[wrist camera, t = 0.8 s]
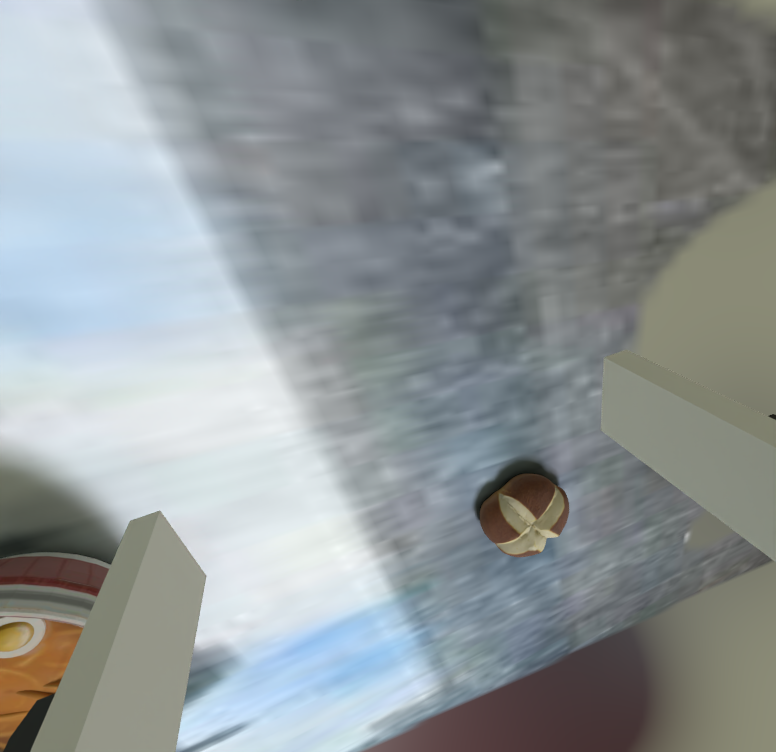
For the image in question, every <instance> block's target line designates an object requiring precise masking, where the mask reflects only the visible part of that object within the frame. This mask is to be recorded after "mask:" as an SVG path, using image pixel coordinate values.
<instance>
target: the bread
mask: <svg viewBox="0 0 776 752" xmlns="http://www.w3.org/2000/svg"><path fill="white" fill-rule="evenodd" d="M568 514H569V502H568V498H567V495H566V493H565V492H564V490H563V489H562V488H560V487H558V486H557V485H555V484H553V483H552V482H551V481H550V480H549V479H547V478H546V477H544V476H541V475H537V474H528V473H527V474H520V475H517V476H515V477H513V478H512V479H511V480H510V481H508V482H507V483H506V484H505V485H504V486H503V487H502V488H501V489H499V490H498V491H496V492H494V493H493V494H492V495H491V496H490V497H489V498H488V499H486V500H485V501H484V502H483V504H482V506H481V510H480V523H481V527H482V529H483V531H484V533H485V534H486V536H487V537H488V538H489V539H490V540H491V541H492V542H494V543H495V544H496V545H497V547H498V548H499V549H500V550H501V551H502V552H504V553H505V554H508V555H511V556H514V557H526V556H532V555H535V554H538V553H541V552H542V550H543V549H544V546H545V543H546V539H547V538H553V537H557V536H559V535H560V533H561V532H562V530H563V528H564V526H565V524H566V521H567V518H568Z"/></svg>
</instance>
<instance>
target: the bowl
mask: <svg viewBox="0 0 776 752" xmlns="http://www.w3.org/2000/svg"><path fill="white" fill-rule="evenodd" d="M110 566H111V565H110V564H108V563H105V562H103V561H100V560H98V559H94V558H90V557H86V556H82V555H78V554H69V553H60V552H35V553H28V554H20V555H13V556H9V557H5V558H1V559H0V752H3V751H4V749H5V746H6V744H7V742H8V740H9V738H10V737H11V735H12V734H13V733H14V731H15V730H16V728H17V727H18V726H19V724H20V723H21V722H22V720H23V719H24V718H25V716H26V715H27V713H28V712H29V711H30V709H31V708H32V707H33V705H34V704H35V702H36V701H37V700H39V699H42V698H44V697H47V696H49V695H52V694H55V693H56V691H57V689H58V686H59V684H60V682H61V679H62V677H63V675H64V672H65V670H66V668H67V665H68V663H69V661H70V658H71V656H72V654H73V652H74V649H75V647H76V645H77V642H78V640H79V638H80V635H81V633H82V631H83V628H84V626H85V624H86V621H87V619H88V617H89V615H90V612H91V610H92V608H93V605H94V603H95V601H96V598H97V596H98V594H99V591H100V589H101V587H102V584H103V582H104V580H105V578H106V575H107V573H108V571H109V568H110Z"/></svg>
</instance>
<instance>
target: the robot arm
mask: <svg viewBox="0 0 776 752" xmlns="http://www.w3.org/2000/svg"><path fill="white" fill-rule="evenodd" d="M601 431H603V432H604V433H605V434H607V435H608V436H609V437H611V438H612V439H613V440H615V441H616V442H617V443H619V444H620V445H621V446H623V447H624V448H625V449H626V450H628V451H629V452H630V453H632V454H633V455H634V456H636V457H637V458H638V459H640V460H641V461H642V462H644V463H645V464H646V465H648V466H649V467H650V468H652V469H653V470H654V471H656V472H657V473H658V474H660V475H661V476H662V477H664V478H665V479H666V480H668V481H669V482H670V483H672V484H673V485H674V486H676V487H677V488H678V489H680V490H681V491H682V492H684V493H685V494H686V495H688V496H689V497H690V498H692V499H693V500H694V501H695V502H697V503H698V504H699V505H701V506H702V507H703V508H705V509H706V510H707V511H709V512H710V513H711V514H713V515H714V516H715V517H717V518H718V519H719V520H721V521H722V522H723V523H725V524H726V525H727V526H729V527H730V528H731V529H733V530H734V531H735V532H737V533H738V534H739V535H741V536H742V537H743V538H745V539H746V540H747V541H749V542H750V543H751V544H753V545H754V546H755V547H757V548H758V549H759V550H761V551H762V552H763V553H764V554H766V555H767V556H768V557H770V558H771V559H772V560H774V561H775V562H776V415H774V414H772V415H770V416H766V415H764V414H762V413H760V412H758V411H755V410H753V409H751V408H749V407H747V406H745V405H743V404H740V403H738V402H736V401H734V400H732V399H730V398H728V397H726V396H723V395H721V394H719V393H717V392H715V391H713V390H710V389H708V388H706V387H704V386H702V385H700V384H698V383H696V382H694V381H691V380H689V379H687V378H685V377H683V376H681V375H679V374H677V373H675V372H672V371H670V370H668V369H666V368H664V367H662V366H660V365H658V364H655V363H653V362H651V361H649V360H647V359H645V358H643V357H641V356H638V355H636V354H634V353H632V352H630V351H628V350H624V351H621V352H619V353H616V354H613V355H610V356H607V357H604V369H603V392H602V416H601ZM205 580H206V575H205V573H204V572H203V571H202V569H201V568H200V566H199V565H198V563H197V562H196V561H195V559H194V558H193V556H192V555H191V554H190V552H189V551H188V549H187V548H186V546H185V545H184V544H183V542H182V541H181V539H180V538H179V537H178V535H177V534H176V532H175V531H174V530H173V528H172V527H171V525H170V524H169V522H168V521H167V520H166V518H165V517H164V515H163V514H162V513H161V511H157V512H154V513H152V514H149V515H146V516H143V517H140V518H137V519H134V520H131V521H130V522H129V524H128V527H127V529H126V531H125V534H124V536H123V538H122V541H121V543H120V545H119V548H118V550H117V552H116V554H115V557H114V559H113V561H112V564H111V566H110V568H109V571H108V573H107V575H106V578H105V580H104V582H103V584H102V587H101V589H100V591H99V594H98V596H97V598H96V601H95V603H94V605H93V608H92V610H91V612H90V615H89V617H88V619H87V621H86V624H85V626H84V628H83V631H82V633H81V635H80V638H79V640H78V642H77V645H76V647H75V649H74V652H73V654H72V656H71V658H70V661H69V663H68V665H67V668H66V670H65V672H64V675H63V677H62V679H61V682H60V684H59V686H58V689H57V691H56V693H55V694H52V695H49V696H47V697H44V698H42V699H39V700H37V701H36V702H35V704H34V705H33V707H32V708H31V709H30V711H29V712H28V713H27V715H26V716H25V718H24V719H23V720H22V722H21V723H20V724H19V726H18V727H17V728H16V730H15V731H14V733H13V734H12V735H11V737H10V738H9V740H8V742H7V744H6V746H5V749H4V751H3V752H175V750H176V745H177V739H178V733H179V728H180V722H181V716H182V711H183V705H184V699H185V694H186V688H187V682H188V677H189V671H190V665H191V660H192V654H193V648H194V643H195V637H196V631H197V626H198V620H199V614H200V609H201V603H202V597H203V592H204V586H205Z"/></svg>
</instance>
